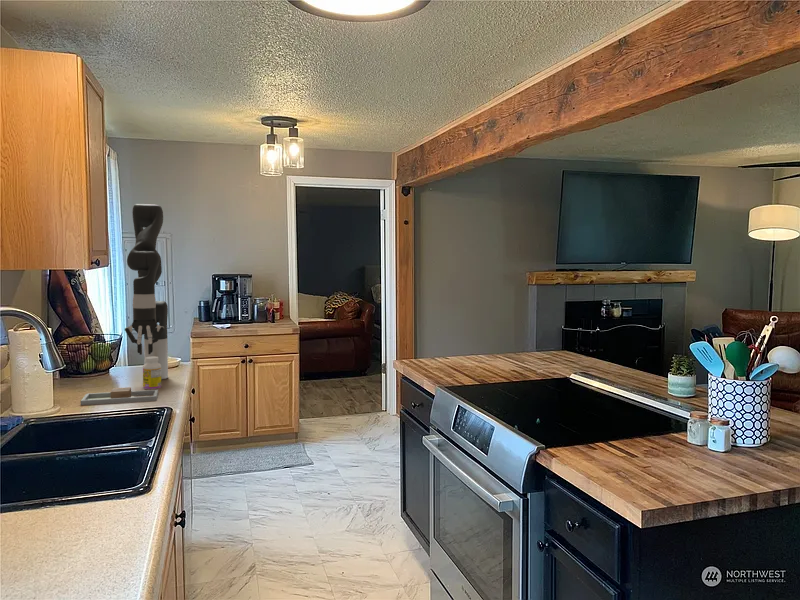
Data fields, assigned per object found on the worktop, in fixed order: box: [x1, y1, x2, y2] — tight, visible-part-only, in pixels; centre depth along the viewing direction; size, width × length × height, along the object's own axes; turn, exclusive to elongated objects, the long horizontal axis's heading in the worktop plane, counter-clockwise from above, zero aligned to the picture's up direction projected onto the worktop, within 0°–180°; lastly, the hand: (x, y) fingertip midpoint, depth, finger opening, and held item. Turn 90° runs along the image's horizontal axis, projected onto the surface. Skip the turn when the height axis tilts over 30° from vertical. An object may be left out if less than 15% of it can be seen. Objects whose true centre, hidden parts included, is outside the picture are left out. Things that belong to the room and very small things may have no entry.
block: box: [110, 386, 132, 398], centre depth 210 cm, size 6×6×4 cm
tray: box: [80, 389, 159, 406], centre depth 210 cm, size 11×24×2 cm, turn 109°
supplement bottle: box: [142, 356, 162, 390], centre depth 229 cm, size 7×7×13 cm
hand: (145, 353), depth 211 cm, fingers open, 2 cm apart
